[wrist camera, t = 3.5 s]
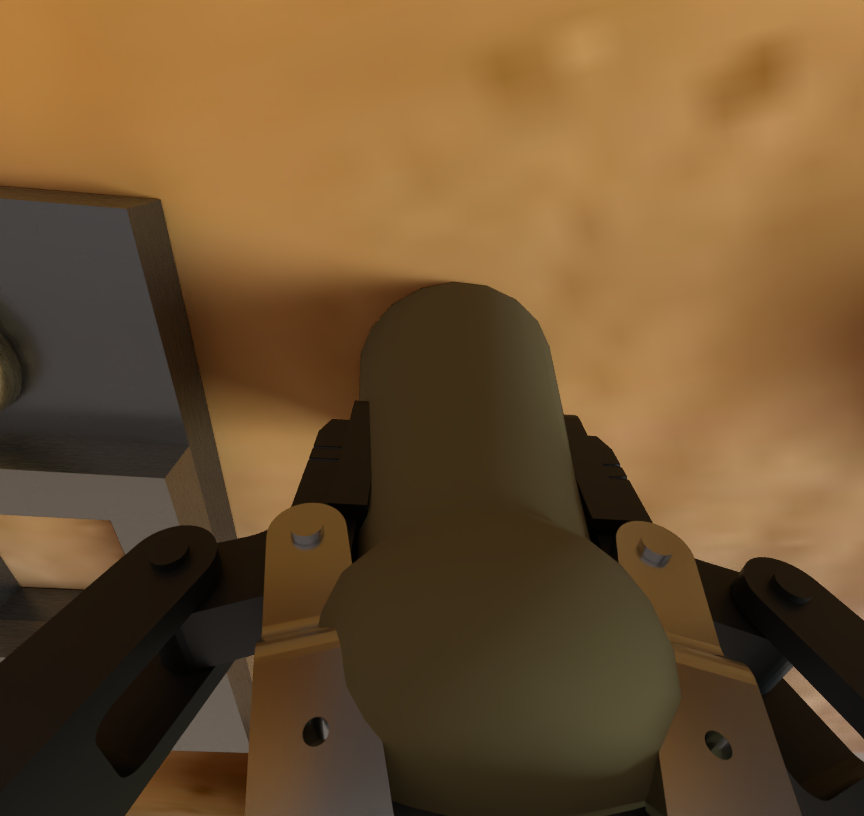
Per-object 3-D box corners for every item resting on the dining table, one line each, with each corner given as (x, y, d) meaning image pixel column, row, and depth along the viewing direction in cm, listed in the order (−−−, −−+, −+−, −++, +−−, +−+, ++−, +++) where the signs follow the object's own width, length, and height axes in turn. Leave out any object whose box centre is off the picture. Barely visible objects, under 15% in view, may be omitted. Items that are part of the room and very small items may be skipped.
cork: (402, 471, 16) (363, 939, 7) (325, 323, 13) (67, 803, 4) (568, 424, 15) (789, 906, 6) (525, 250, 12) (850, 677, 3)
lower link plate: (-348, 156, 11) (-519, 163, 9) (160, 199, 11) (104, 214, 9) (-9, 609, 21) (-55, 660, 19) (255, 621, 21) (237, 671, 19)
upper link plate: (-170, 394, 14) (-342, 471, 11) (209, 418, 15) (149, 499, 12) (43, 679, 24) (-17, 765, 21) (270, 687, 24) (246, 773, 21)
